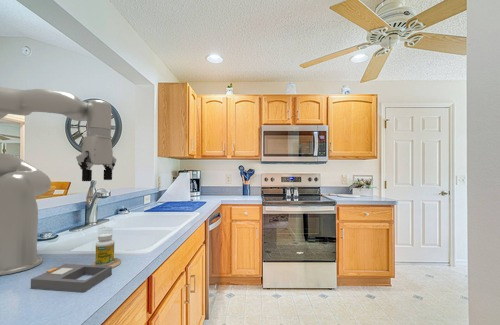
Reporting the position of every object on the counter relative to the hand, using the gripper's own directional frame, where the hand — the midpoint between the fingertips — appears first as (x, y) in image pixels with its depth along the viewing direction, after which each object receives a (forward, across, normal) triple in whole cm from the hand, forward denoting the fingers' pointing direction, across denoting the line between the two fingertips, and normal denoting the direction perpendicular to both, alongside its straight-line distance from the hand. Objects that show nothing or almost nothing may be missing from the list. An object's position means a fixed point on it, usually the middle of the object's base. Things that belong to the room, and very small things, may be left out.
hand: (97, 180), depth 82 cm
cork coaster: (+28, +5, +8) cm, 30 cm away
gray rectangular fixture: (+28, +16, +7) cm, 33 cm away
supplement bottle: (+28, +5, +8) cm, 29 cm away
